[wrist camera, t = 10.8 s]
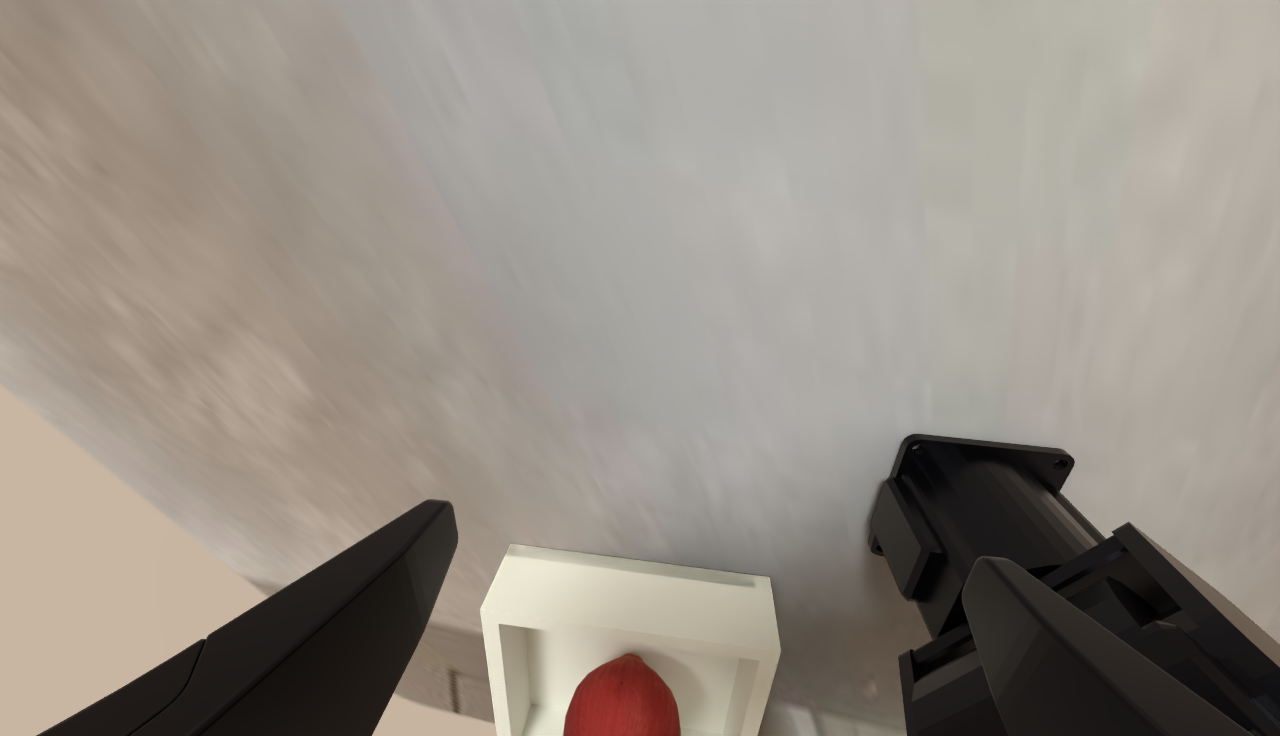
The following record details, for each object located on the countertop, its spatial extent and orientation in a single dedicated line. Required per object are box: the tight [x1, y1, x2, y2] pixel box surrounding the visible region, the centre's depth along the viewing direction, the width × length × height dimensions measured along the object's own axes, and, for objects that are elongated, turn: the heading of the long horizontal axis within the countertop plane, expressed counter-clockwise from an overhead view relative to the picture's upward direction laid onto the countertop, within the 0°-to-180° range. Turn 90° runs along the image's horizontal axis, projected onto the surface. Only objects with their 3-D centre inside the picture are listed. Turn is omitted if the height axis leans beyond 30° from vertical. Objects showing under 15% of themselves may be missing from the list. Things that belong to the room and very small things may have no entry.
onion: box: [563, 653, 681, 736], centre depth 24 cm, size 6×6×8 cm
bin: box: [480, 544, 781, 736], centre depth 27 cm, size 14×14×4 cm
